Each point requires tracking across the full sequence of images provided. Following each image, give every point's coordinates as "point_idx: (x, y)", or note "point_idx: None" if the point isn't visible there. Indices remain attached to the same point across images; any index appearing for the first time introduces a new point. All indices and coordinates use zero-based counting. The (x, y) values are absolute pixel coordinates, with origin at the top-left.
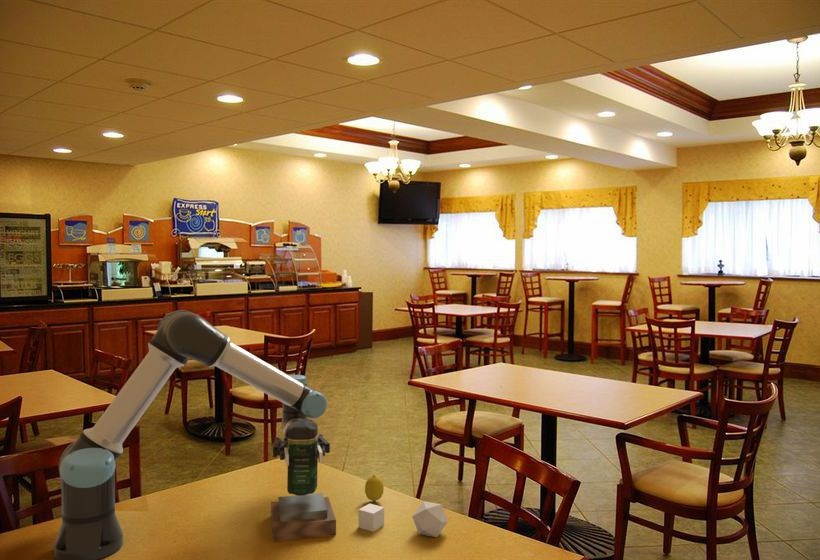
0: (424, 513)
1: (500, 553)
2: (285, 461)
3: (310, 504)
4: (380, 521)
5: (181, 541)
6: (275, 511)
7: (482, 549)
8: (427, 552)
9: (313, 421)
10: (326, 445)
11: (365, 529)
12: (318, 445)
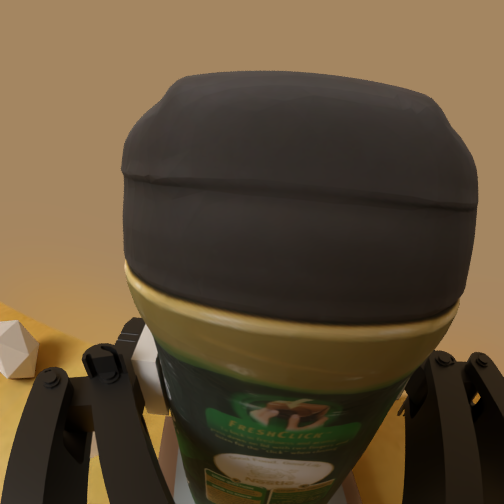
0: (22, 327)
1: (13, 309)
2: None
3: None
4: None
5: None
6: (346, 492)
7: (16, 319)
8: (65, 336)
9: (157, 107)
10: (70, 379)
11: None
12: (144, 354)
